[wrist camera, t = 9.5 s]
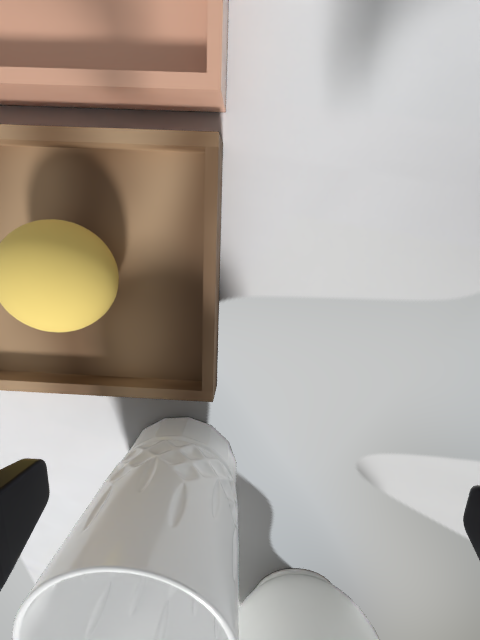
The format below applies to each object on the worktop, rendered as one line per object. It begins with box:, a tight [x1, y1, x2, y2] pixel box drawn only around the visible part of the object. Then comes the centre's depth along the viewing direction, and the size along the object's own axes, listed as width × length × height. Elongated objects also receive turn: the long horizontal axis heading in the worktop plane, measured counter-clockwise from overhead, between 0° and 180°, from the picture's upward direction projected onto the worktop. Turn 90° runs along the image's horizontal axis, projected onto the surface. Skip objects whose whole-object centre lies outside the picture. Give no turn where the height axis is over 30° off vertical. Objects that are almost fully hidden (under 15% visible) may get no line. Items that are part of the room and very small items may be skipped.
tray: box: [0, 124, 223, 402], centre depth 17 cm, size 14×13×2 cm
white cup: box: [12, 417, 239, 640], centre depth 16 cm, size 8×8×10 cm
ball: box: [0, 219, 119, 332], centre depth 15 cm, size 5×5×5 cm
